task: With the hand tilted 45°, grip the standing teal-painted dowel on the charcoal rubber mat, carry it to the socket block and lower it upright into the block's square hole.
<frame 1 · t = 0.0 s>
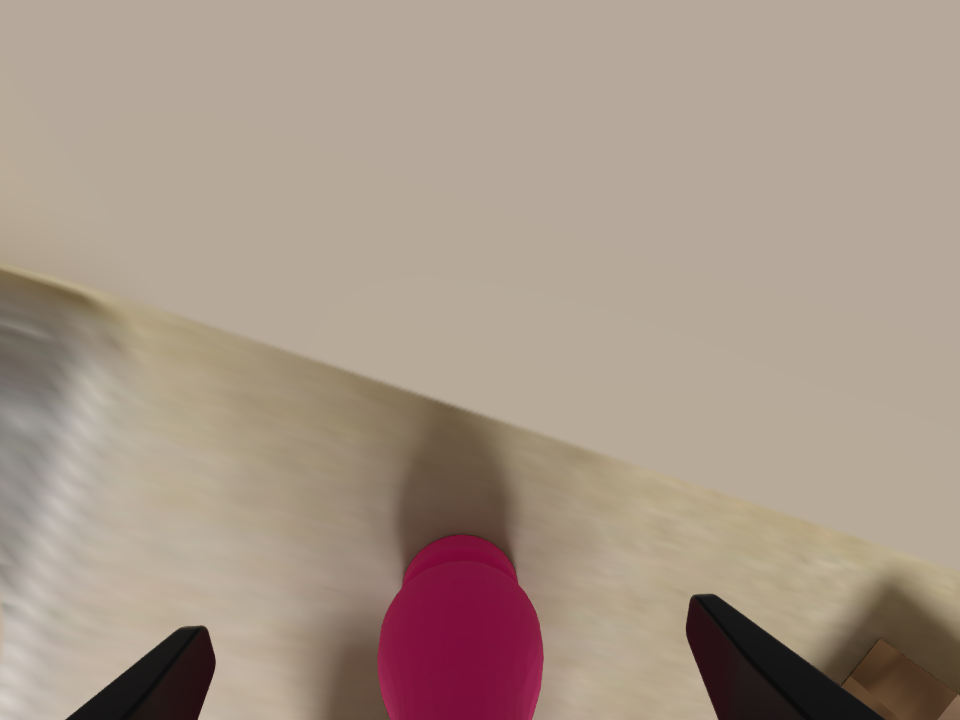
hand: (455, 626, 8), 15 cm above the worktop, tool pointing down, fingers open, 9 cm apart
pepper mill: (460, 587, 24), on the worktop
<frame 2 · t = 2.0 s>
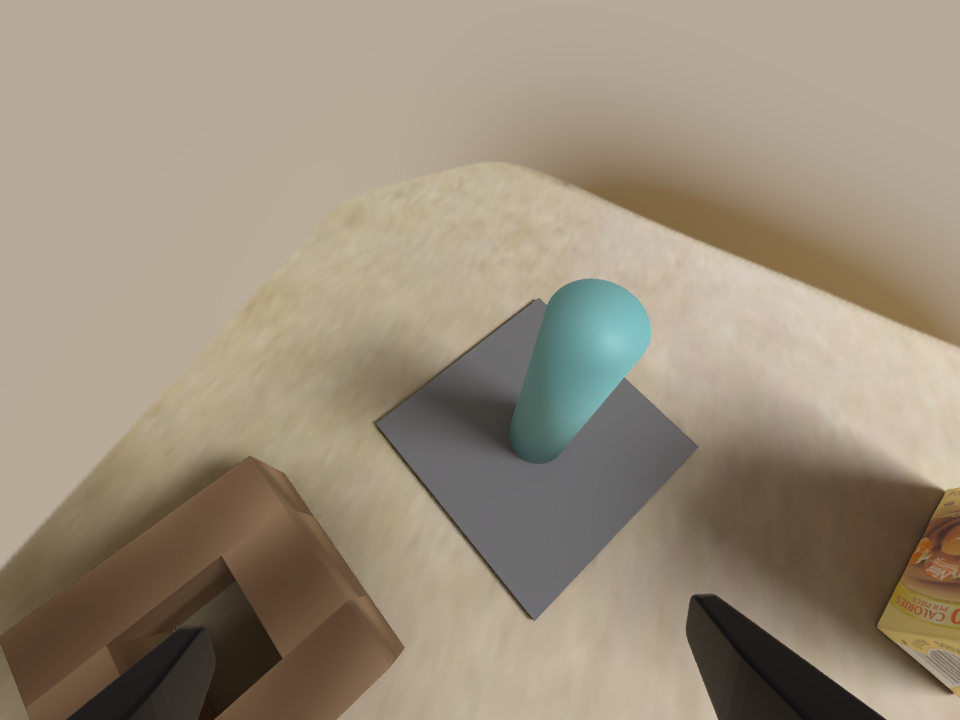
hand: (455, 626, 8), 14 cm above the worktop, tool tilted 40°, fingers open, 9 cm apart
peg: (537, 435, 24), resting on mat
socket block: (244, 636, 20), on the worktop
candy box: (943, 582, 22), on the worktop
mat: (536, 436, 24), on the worktop
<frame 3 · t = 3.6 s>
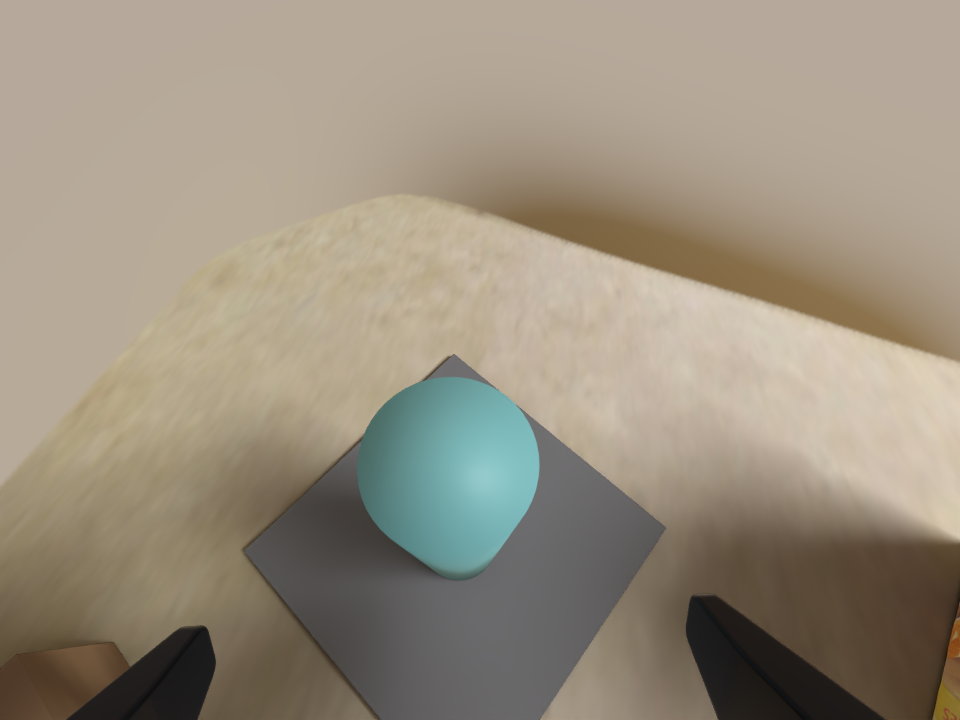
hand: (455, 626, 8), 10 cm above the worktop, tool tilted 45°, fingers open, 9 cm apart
peg: (459, 539, 18), resting on mat
mat: (459, 539, 18), on the worktop
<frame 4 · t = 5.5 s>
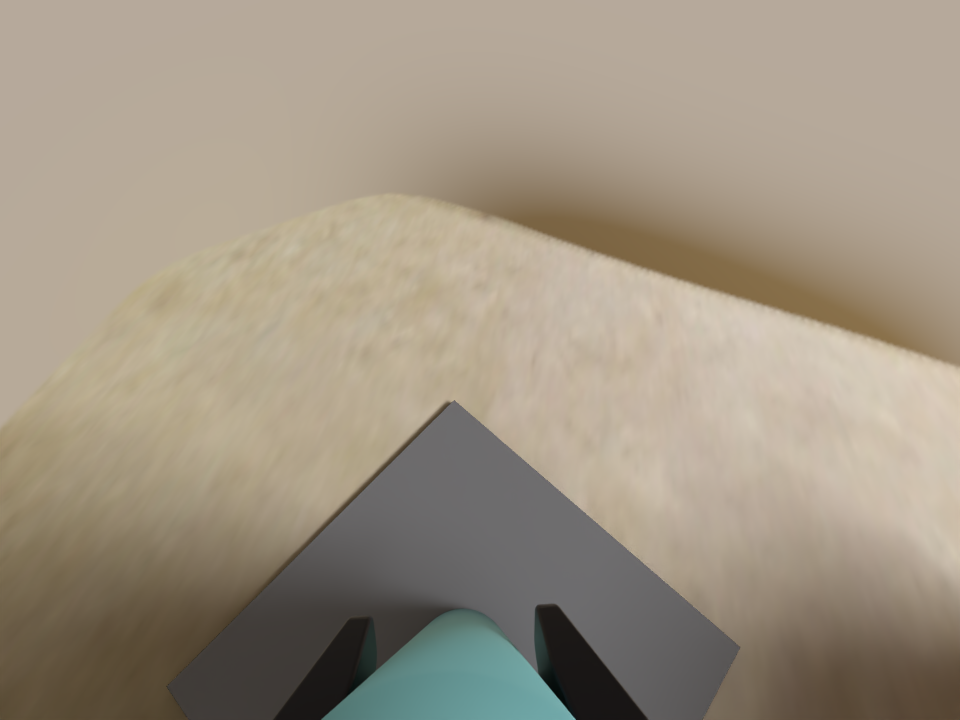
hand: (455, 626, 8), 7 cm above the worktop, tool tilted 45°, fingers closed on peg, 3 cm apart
peg: (462, 666, 13), resting on mat, touching gripper
mat: (462, 664, 14), on the worktop
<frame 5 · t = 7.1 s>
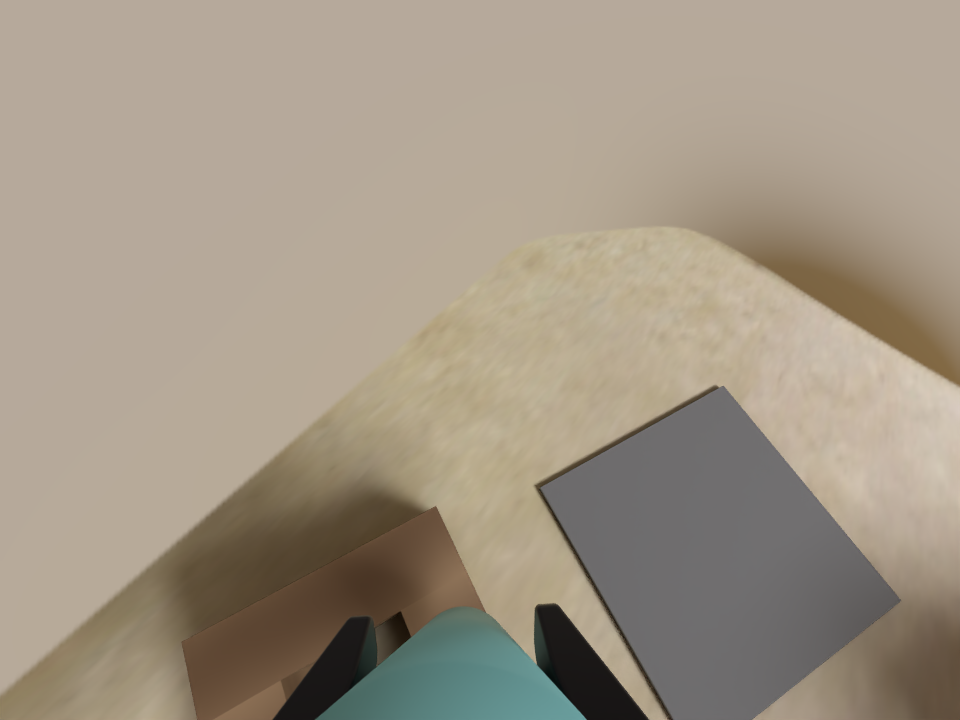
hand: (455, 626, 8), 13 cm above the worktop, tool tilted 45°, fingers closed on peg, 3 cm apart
peg: (462, 664, 13), point 7 cm above the worktop, touching gripper
socket block: (385, 688, 19), on the worktop
mat: (709, 542, 22), on the worktop
when the fingers open (8 cm above the worktop, at t = 8.9 s): peg drops 2 cm, resting in socket block.
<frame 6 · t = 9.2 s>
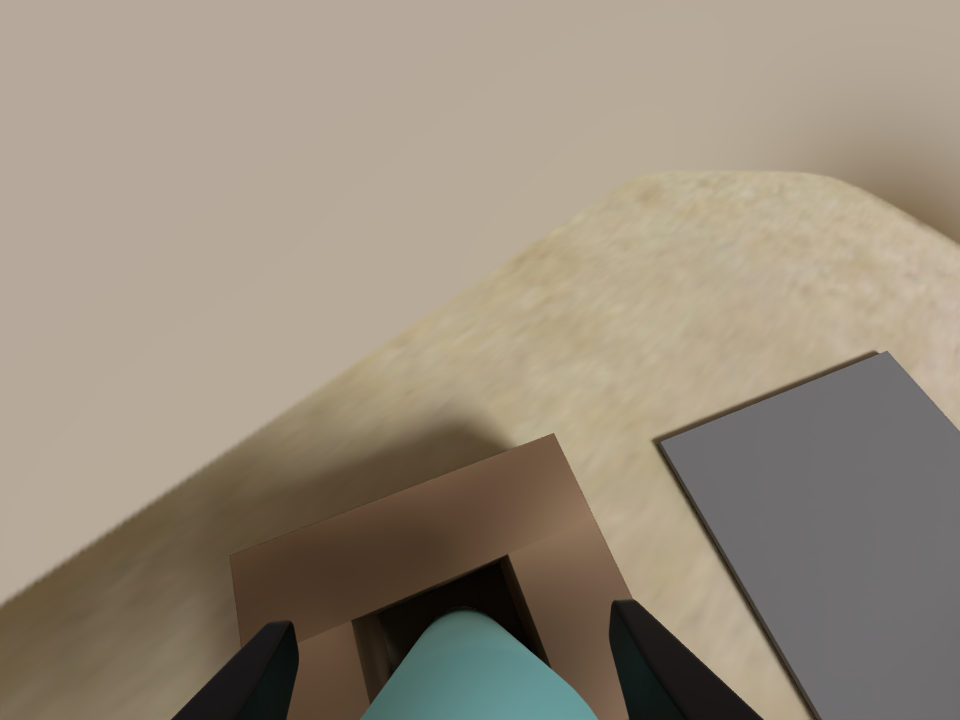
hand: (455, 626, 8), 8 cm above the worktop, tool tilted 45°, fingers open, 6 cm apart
peg: (462, 657, 15), resting in socket block
socket block: (462, 658, 15), on the worktop
mat: (876, 533, 17), on the worktop
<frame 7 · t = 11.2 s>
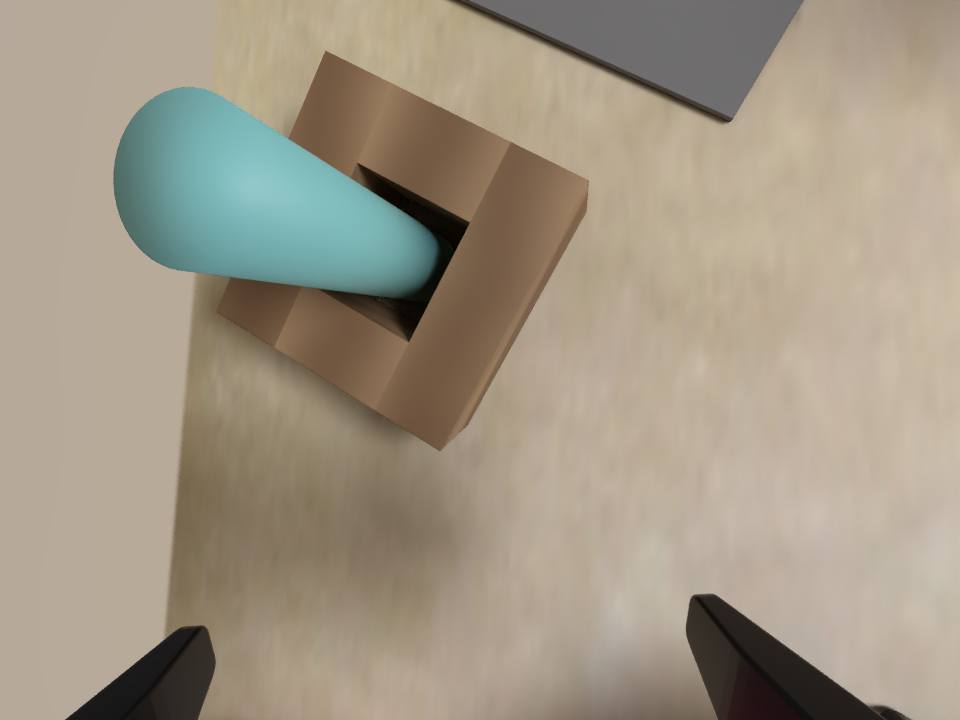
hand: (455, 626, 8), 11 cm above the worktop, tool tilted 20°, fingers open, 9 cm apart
peg: (422, 266, 19), resting in socket block
socket block: (422, 266, 19), on the worktop
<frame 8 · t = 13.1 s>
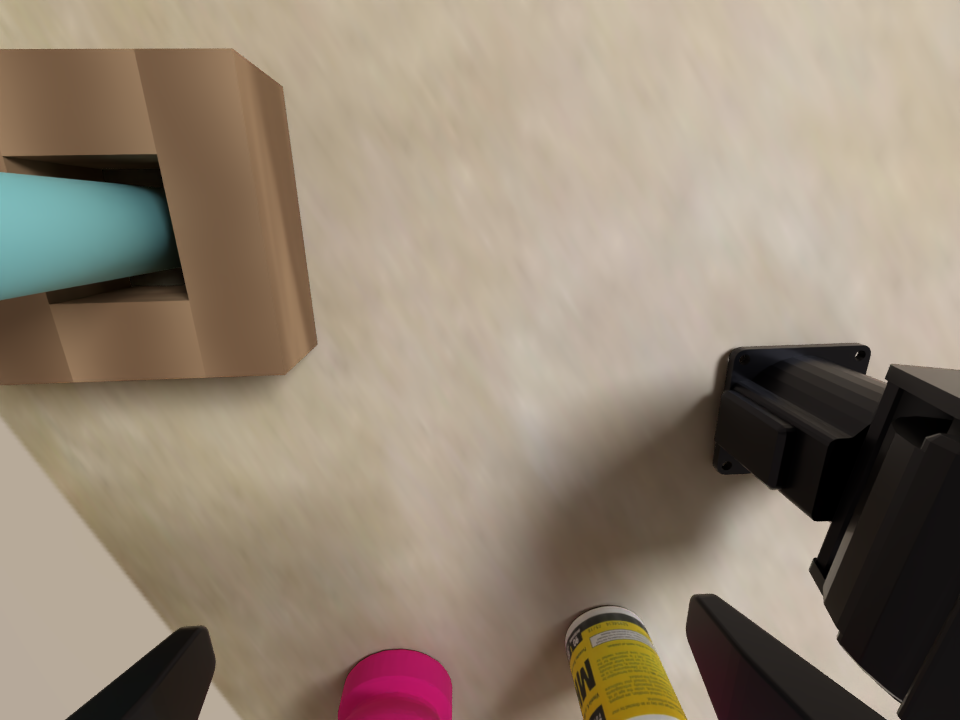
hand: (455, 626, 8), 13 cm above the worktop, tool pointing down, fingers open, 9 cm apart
peg: (175, 228, 18), resting in socket block
supplement bottle: (602, 632, 26), on the worktop
socket block: (175, 228, 18), on the worktop
pepper mill: (399, 684, 27), on the worktop
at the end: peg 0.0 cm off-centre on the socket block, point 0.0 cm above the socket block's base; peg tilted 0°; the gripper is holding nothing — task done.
